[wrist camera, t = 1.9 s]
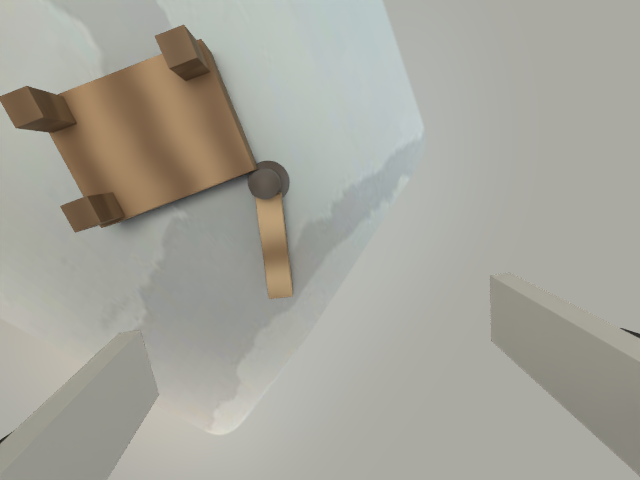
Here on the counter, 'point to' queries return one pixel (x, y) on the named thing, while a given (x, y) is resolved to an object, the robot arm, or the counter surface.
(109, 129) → the stool top
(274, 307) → the counter surface
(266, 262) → the hinged leg
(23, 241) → the counter surface
